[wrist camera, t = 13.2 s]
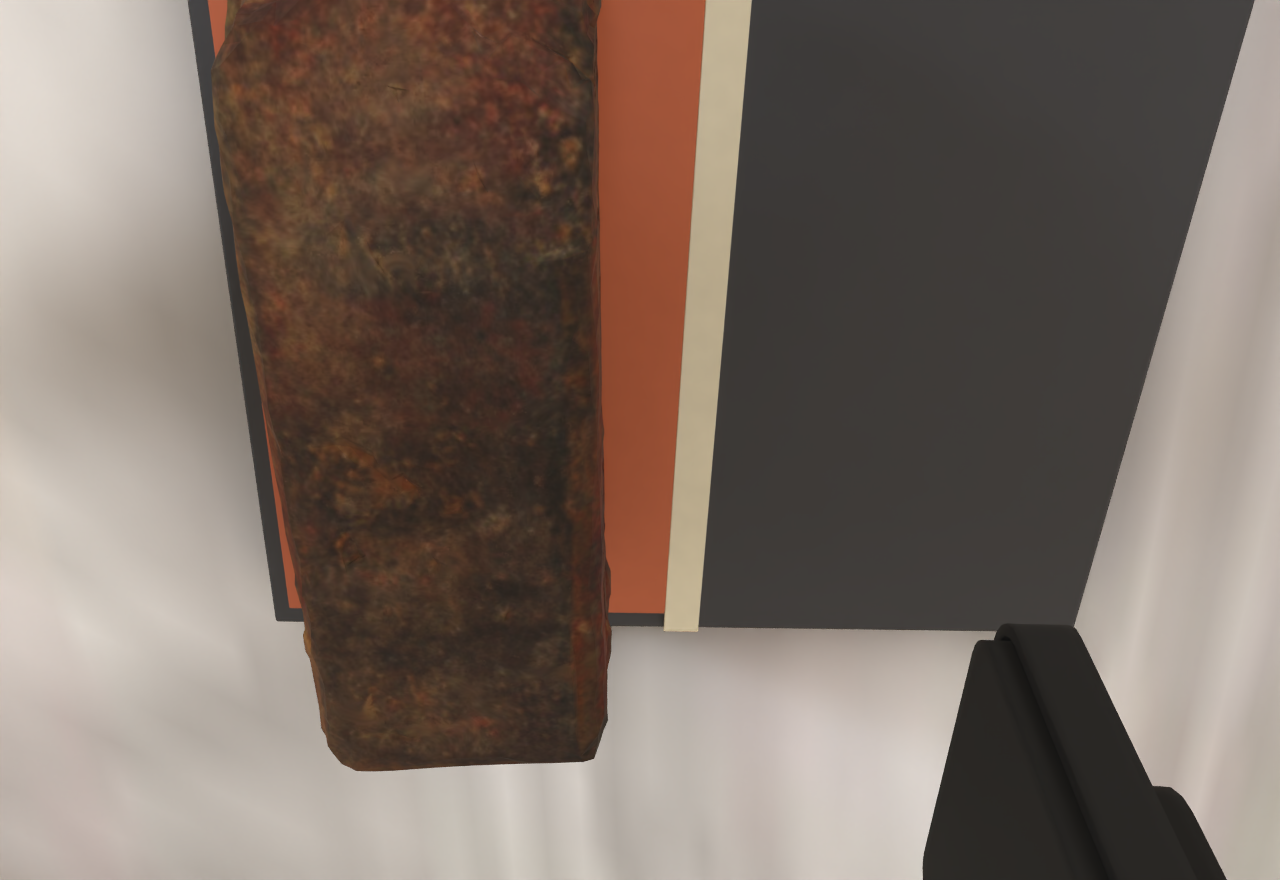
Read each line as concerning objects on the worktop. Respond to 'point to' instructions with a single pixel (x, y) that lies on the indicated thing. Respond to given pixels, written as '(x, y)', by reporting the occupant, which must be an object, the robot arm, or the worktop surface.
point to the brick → (430, 361)
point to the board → (866, 297)
